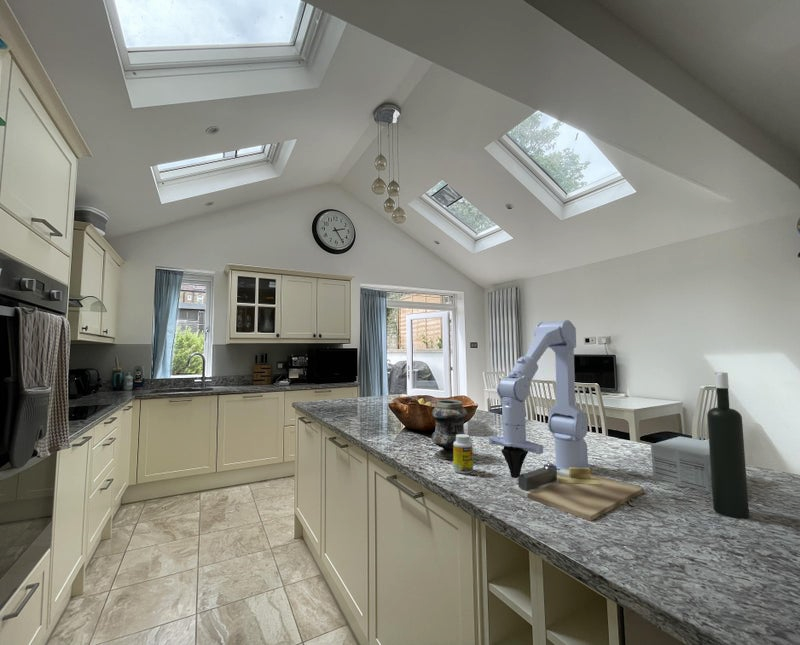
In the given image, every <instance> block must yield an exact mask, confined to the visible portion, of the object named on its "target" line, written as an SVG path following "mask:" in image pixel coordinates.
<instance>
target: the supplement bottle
mask: <svg viewBox="0 0 800 645" xmlns="http://www.w3.org/2000/svg"><path fill="white" fill-rule="evenodd" d="M470 438H471V437H470V435H469V434H466V433H465V434H458V435H456V441H455V442H454V443H453V459H454V460H453V471H454V472H455V473H458V474H463V475H464V474H467V475H468V474H470V473H473V470H474V462H473V461H474V460H473V455H474V454H473V446H474V445H473V443H472V442H471V441H470V440H471V439H470Z"/></svg>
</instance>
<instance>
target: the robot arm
mask: <svg viewBox="0 0 800 645" xmlns="http://www.w3.org/2000/svg"><path fill="white" fill-rule="evenodd" d="M576 329H577V328H576V327H575V325H574V324H573V322H571V321H570V320H568V319H567V320H566V319H565V320H559V321H558V320H557V321H545V322H544V321H540V322H538V323H537V324H536V326H535V328H534V329H533V334H534V338H533V340H532V342H531V344H530V346H529V348H528V350H527V352H526V354H525V356H520V357H519V358H517V360H516V362H515V364H514V366H513V367H512V369H511V370H510V372H509V374H508V375H507V377H503V378H502V379H500V380H499V382H498V386H497V388H496V392H497V394H498V397H499V400H500V405H501V406H502V436H496V435H491V436H488V445H496V446H501V447H503V448H502V449H501V454H502V455H503V456H504V459H505V461H506V464H507V466H508V469H509V473H510V476H511V477H510V478H514V479H518V476H519V475H521V471H522V469H523V468H522V467H523V465H524V462H525V459H526V457H527V455H528V453H529V452H530V453H534V454H536V455H541V454H543V453H544V446H543V444H539V443H535V442H532V441H529V440H527V432H526V427H527V426H526V403H525V401H526V400H527V399H528V397H529V395H530V390H531V389H530V388H531V385H532V383H531V382H532V380H533V378H534V377H535V376H536V373H537V372H538V371H539V370H538V369H539V364H538V361H540V359H541V357H542V356H543V354H544V353H545V352H546V350H547V349H550V350H552V351H553V352H554V353H555V354H554V355H555V356H554V357H555V358H554V359H555V387H556V388H555V389H556V390H555V392H556V394H555V397H556V404H555V405H554V406H553V407H551V408H550V409H549V416H548V419H547V428H548V430H549V432H550V433H551V434H552V437H554V452H555V454H554V455H555V463H552V464H553V465H555V466H557V470H561V469H564V468H569V467H582V468H589V469H591V468H592V465H589V460H588V458H589V457H588V453H589V452H588V444H587V442H586V441H585V439H584V438H585V437H586V435H587V434H588V428H589V427H588V422H587V418H586V413H585V412H584V410H583V409H581V408H580V407H579V406H578V405H577V404H576V382H575V348H576V347H577V330H576Z"/></svg>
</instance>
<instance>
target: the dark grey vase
mask: <svg viewBox="0 0 800 645" xmlns="http://www.w3.org/2000/svg"><path fill="white" fill-rule="evenodd" d="M431 415H432V417H433V418H434V419H435V430H434V432H433V433H432V434H431V441H432V443H433V444H434V445H435V446H438V447H439V448H441V449H440V450H438V451H436V452H435V453H434V457H436V458H438V459H441V460H453V461H454V459H453V443H454V442H455V441H456V435H458V434H466V433H465V430H464V428H465V427H464V423H465V422H464V421H465V419H467V416H468V411H467V410H466V408H464V406H463V402H462V400H461V401H460V400H455V399H439V400H437V401H436V406H435V407H433V409H432V411H431Z"/></svg>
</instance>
